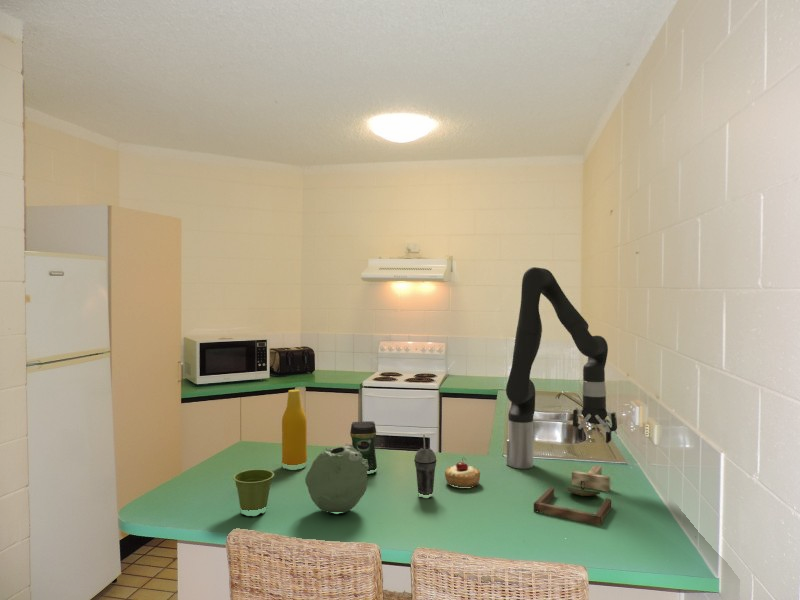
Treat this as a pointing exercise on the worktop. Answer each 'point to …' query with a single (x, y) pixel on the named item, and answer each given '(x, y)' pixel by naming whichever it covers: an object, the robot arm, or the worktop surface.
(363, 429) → the coffee jar
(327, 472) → the round grey vase
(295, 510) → the worktop surface
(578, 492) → the lid
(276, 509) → the worktop surface
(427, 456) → the beverage cup
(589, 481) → the wooden pusher
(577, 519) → the walnut bay
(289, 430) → the beer bottle
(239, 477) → the plant pot
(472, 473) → the pastry
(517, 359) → the robot arm
